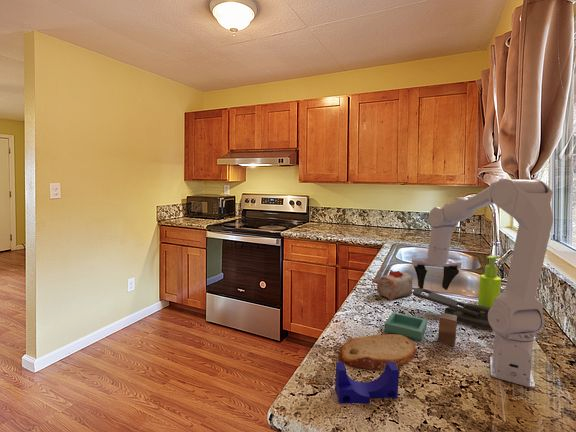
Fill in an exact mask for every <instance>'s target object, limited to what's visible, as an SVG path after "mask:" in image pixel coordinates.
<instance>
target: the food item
mask: <svg viewBox="0 0 576 432" xmlns="http://www.w3.org/2000/svg"><path fill="white" fill-rule="evenodd" d="M388 273H389V274H386V275H382V276H380V278H379V279H378V280H377V281H376V292H377V294H379V295H381V296H382V297H383V296H384V297H383V298H385V297H386V298H385V299H387V298H388V299H387V300H390V301H393V300H396V299H399V298H403V297H407V296H409V295H413V276H412V274H410V273H408V272H405V271H399V270H397V271H395V270H394V271H393V270H392V269H390V271H389V272H388Z"/></svg>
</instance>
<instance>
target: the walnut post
mask: <svg viewBox="0 0 576 432" xmlns="http://www.w3.org/2000/svg"><path fill="white" fill-rule="evenodd" d="M457 323H458V322H457V316H456V315H451V314H446V313H445V312H440V315H439V318H438V337H437V342H438V343H441V344H444V345H448V346H452V347H454V346H455V344H456V337H457V336H456V335H457V325H458V324H457Z"/></svg>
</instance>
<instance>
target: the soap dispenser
mask: <svg viewBox="0 0 576 432" xmlns="http://www.w3.org/2000/svg"><path fill="white" fill-rule="evenodd" d="M503 258H504V257H503V256H498V255H492V254H491V255H487V256H486V259H488V264H487V265H484V267H485V268H484V274H480V275H479V285H478V298H477V299H478V300H477V302H478V303H477V305H480V306H485V307H489V308H491V307H492V306H493V304H494V300H495V298H496V297H498V296H499V295H500V294H501V287H502V286H501V285H502V278H501V277H500V276H498V270H499V269H498V266H497V265H496V260H497V259H502V260H503ZM480 312H481V311H480ZM483 313H484V312H483Z"/></svg>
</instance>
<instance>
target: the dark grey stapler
mask: <svg viewBox="0 0 576 432" xmlns="http://www.w3.org/2000/svg"><path fill="white" fill-rule="evenodd" d="M412 292H413V293H412V295H413V296H414V297H417V298H421V299H424V300H427V301H430V302H432V303H435V304H439V305H442V306H445V309H444V313H446V314H451V315H456V316H457V323H459V324H464V325H467V326H471V327H474V328H479V329H480V330H488V331H493V329H492V328H491V326H490V324H489V321H488V312H489V309H490V308H489V307H485V306H480V305H478V304H476V303H469V302H466V303H465V302H462V301H459V300H455V299H453V298H450V297H447V296H444V295H442V294H439V293H436V292H434V291H431V290H429V289H427V288H423V289H420V288H419V287H417V288H415V289H414V290H412ZM423 293H425V294H428V295H424V294H423ZM480 311H481V312H480ZM483 312H484V313H483Z"/></svg>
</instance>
